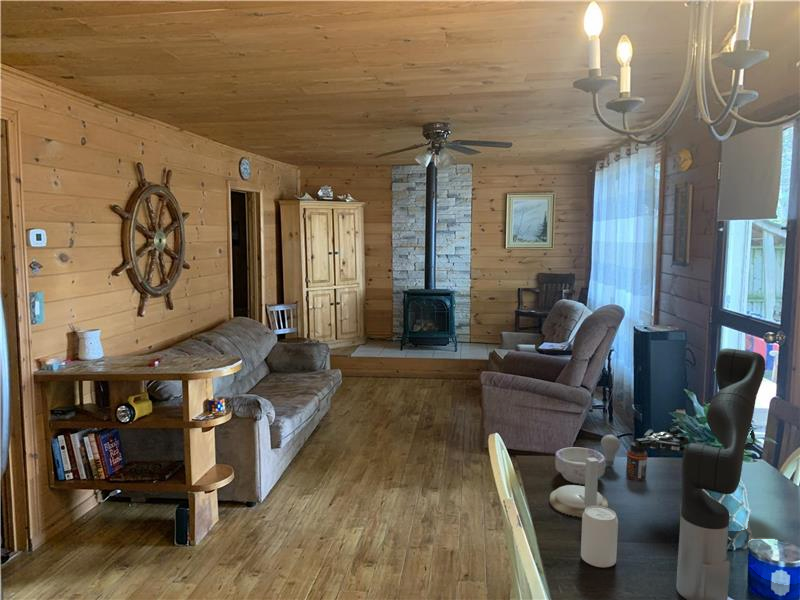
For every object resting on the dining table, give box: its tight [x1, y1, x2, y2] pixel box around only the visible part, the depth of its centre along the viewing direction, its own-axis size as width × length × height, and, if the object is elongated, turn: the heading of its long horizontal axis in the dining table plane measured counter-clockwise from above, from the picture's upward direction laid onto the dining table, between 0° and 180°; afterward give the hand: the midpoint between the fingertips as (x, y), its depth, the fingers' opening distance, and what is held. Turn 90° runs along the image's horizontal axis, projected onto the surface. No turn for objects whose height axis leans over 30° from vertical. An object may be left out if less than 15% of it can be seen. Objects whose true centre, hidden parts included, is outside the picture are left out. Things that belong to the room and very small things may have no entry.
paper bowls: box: [554, 446, 606, 485], centre depth 186 cm, size 15×15×8 cm
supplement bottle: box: [625, 441, 648, 482], centre depth 186 cm, size 6×6×11 cm
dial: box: [555, 458, 603, 509], centre depth 167 cm, size 14×13×14 cm
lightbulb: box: [600, 434, 621, 468], centre depth 195 cm, size 6×6×11 cm
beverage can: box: [580, 506, 619, 568], centre depth 139 cm, size 8×8×12 cm
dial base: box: [549, 489, 609, 518], centre depth 169 cm, size 16×16×2 cm
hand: (636, 443), depth 165 cm, fingers closed
